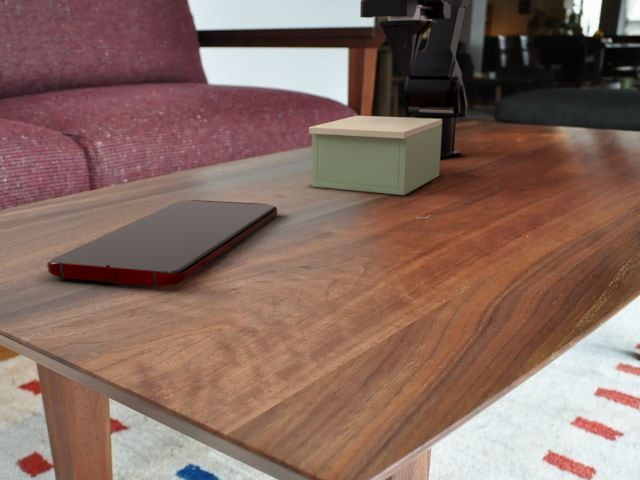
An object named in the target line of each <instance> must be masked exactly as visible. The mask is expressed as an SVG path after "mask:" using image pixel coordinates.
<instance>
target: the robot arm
mask: <svg viewBox="0 0 640 480" xmlns="http://www.w3.org/2000/svg"><path fill="white" fill-rule="evenodd" d="M470 2H471V0H360V14H359V17H360V18H365V19H367V18H368V19H370V18H371V19H372V18H379V17H380V18H382V17H383V18H385V17H386V18H387V17H388V18H387V19H388V20H380V21H378V22H377V23H378V26H380V28H381V30H382V32H383V34H384V36H385V39H386V41H387V43H388V45H389V48H390V51H391V52H392V55H393V58H394V60H395V62H396V66H397V68H398V70H399V73H400V75H401V76H402V77H403V76H404V77H405V79H404V83H403V98H404V99H403V101H404V110H405V117H414V118H430V119H442V125H441V126H442V133H441V151H440V159H443V158H448V157H455V156H460V155H462V151H459V150H455V144H456V143H455V142H456V141H455V140H456V129H457V128H456V127H457V126H456V125H457V119H460V118H466V117H467V112H468V111H467V110H468V100H467V95H466V89H465V86H464V81H463V78H462V77H463V73H462V70H461V68H460V66H459V63H458V61H457V57H456V56H457V52H458V51H457V50H458V45H459V40H460V36H461V31H462V27H463V22H464V18H465V14H466V13H465V12H466V9H468V7H469V4H470ZM428 31H429V32H428ZM426 32H428V36H427V41H426V45H425V47H424V48H423V49H422V50H419V48H420V46H421V42H422V40H423V37H424V35H425V33H426ZM420 108H422V109H420ZM423 108H437V109H423ZM440 108H441V109H440ZM448 109H453V110H448Z"/></svg>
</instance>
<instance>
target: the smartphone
mask: <svg viewBox="0 0 640 480" xmlns="http://www.w3.org/2000/svg"><path fill="white" fill-rule="evenodd" d="M277 216H278V207H277V206H275V205H273V204H269V203H257V202H239V201H219V200H200V199H189V200H179V201H175V202H174V203H172V204H169V205H168V206H166V207H162V208H161V209H158V210H157V211H154V212H152V213H150V214H147V215H146V216H143V217H140V218H139V219H136V220H134V221H132V222H129V223H128V224H126V225H123V226H121V227H119V228H117V229H114V230H113V231H110V232H108V233H106V234H104V235H101V236H99V237H97V238H95V239H93V240H90V241H87V242H86V243H84V244H81V245H79V246H77V247H75V248H73V249H71V250H68V251H66V252H65V253H62V254H60V255H58V256H55V257H54V258H52V259H50V260H49V261H48V262H47V264H46V266H47V271H48V273H49V274H50V275H52V276H55V277H58V278H63V279H73V280H74V279H75V280H85V281H93V282H94V281H96V282H107V283H115V284H116V283H117V284H127V285H138V286H149V287H150V286H151V287H165V286H174V285H175V286H176V285H178V284H180V283H182V282H183V281H185V280H187V279H188V278H189V277H191V276H192V275H193V274H195V273H196V272H198V271H199V270H200V269H202V268H204V267H205V266H206V265H208V264H209V263H211V262H212V261H214V260H215V259H216V258H218V257H219V256H221V255H222V254H224V253H225V252H226V251H228V250H229V249H231V248H232V247H234V246H235V245H236V244H238V243H239V242H241V241H243V240H244V239H246V237H248V236H249V235H251V234H252V233H253V232H255V231H256V230H258V229H259V228H260V227H263V226H264V225H266V224H267V223H268V222H269V221H271V220H272V219H274V218H275V217H277Z"/></svg>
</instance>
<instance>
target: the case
mask: <svg viewBox="0 0 640 480" xmlns="http://www.w3.org/2000/svg"><path fill="white" fill-rule="evenodd" d="M441 133H442V126H441V125H440V126H438V127H435V128H432V129H429V130H427V131H424V132H421V133H418V134H415V135H413V136H410V137H407V138H404V139H398V138H380V137H362V136H343V135H325V134H311V156H312V158H311V159H312V161H311V162H312V166H311V167H312V188H322V189H323V188H324V189H333V190H343V191H344V190H345V191H355V192H365V193H375V194H376V193H377V194H385V195H386V194H388V195H398V196H405V195H407V194H409V193H411V192H413V191H414V190H416V189H418V188H420V187H422V186H423V185H425V184H427V183H429V182H430V181H433V180H435V179H436V178H437V177H439V176H440V166H441V158H440V151H441Z"/></svg>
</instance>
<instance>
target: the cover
mask: <svg viewBox="0 0 640 480" xmlns="http://www.w3.org/2000/svg"><path fill="white" fill-rule="evenodd" d="M440 125H442V119H430V118H415V117H403V116H402V117H401V116H400V117H399V116H377V115H375V116H374V115H372V116H371V115H354V116H349V117H346V118H341V119H338V120H333V121H329V122H325V123H321V124H317V125H313V126H309V127H308V134H310V135H312V134H325V135H343V136H362V137H380V138H398V139H404V138H407V137H410V136H413V135H415V134H418V133H421V132H424V131H427V130H429V129H432V128H435V127H438V126H440Z"/></svg>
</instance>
